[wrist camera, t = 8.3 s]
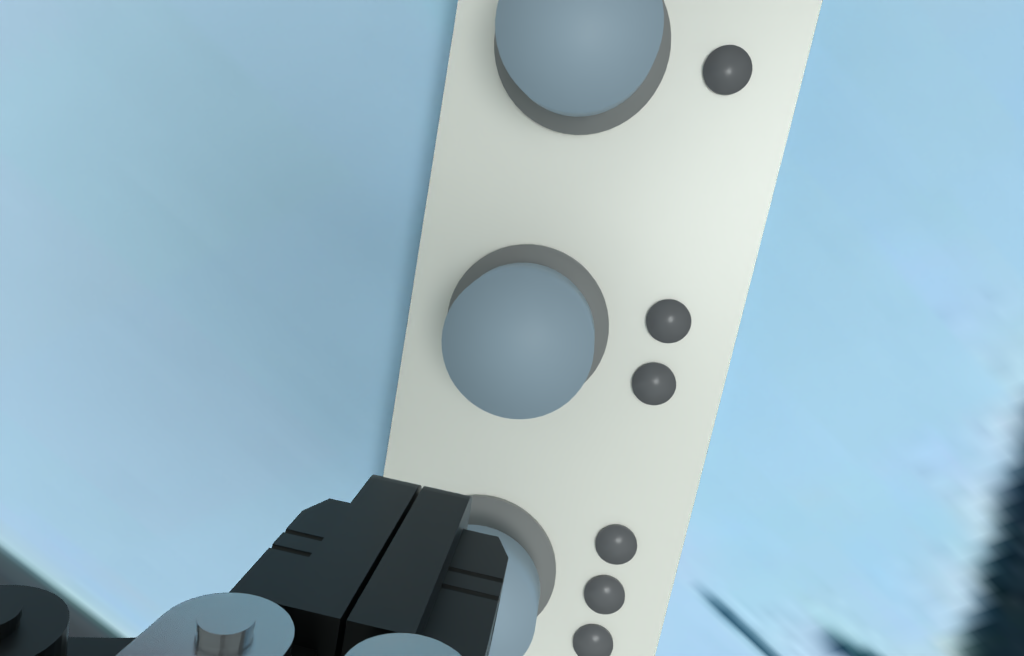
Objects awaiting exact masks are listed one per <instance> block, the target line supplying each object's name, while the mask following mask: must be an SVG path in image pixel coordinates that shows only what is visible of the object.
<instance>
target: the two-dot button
mask: <svg viewBox="0 0 1024 656" xmlns="http://www.w3.org/2000/svg"><path fill="white" fill-rule="evenodd" d="M594 342H595V328H594V320H593V316H592V313H591V310H590V307H589V305H588V303H587V301H586V299H585V297H584V296H583V294H582V293H581V292H580V290H579V289H578V288H577V287H576V286H575V285H574V284H573V283H572V282H571V281H570V280H569V279H568V278H567V277H565V276H564V275H563V274H561V273H559V272H557V271H556V270H554V269H551V268H549V267H546V266H543V265H539V264H534V263H511V264H506V265H502V266H499V267H497V268H494V269H492V270H490V271H488V272H486V273H485V274H483V275H482V276H480V277H479V278H478V279H477V280H475V281H474V282H473V283H472V284H470V285H469V286H468V287H467V288H465V289H464V291H463V292H462V293H461V294H460V295H459V296H458V297H457V298H456V300H455V301H454V302H453V304H452V306H451V308H450V309H449V311H448V314H447V316H446V319H445V322H444V326H443V330H442V354H443V360H444V363H445V366H446V369H447V372H448V374H449V376H450V378H451V380H452V381H453V383H454V385H455V386H456V387H457V389H458V390H459V391H460V392H461V394H462V395H463V396H464V397H465V398H467V399H468V400H469V401H470V402H471V403H473V404H474V405H475V406H477V407H478V408H480V409H482V410H484V411H486V412H488V413H490V414H493V415H496V416H499V417H503V418H509V419H531V418H536V417H540V416H544V415H546V414H549V413H551V412H553V411H555V410H557V409H559V408H561V407H562V406H563V405H565V404H566V403H568V402H569V401H570V400H571V399H572V398H573V397H574V396H575V395H576V394H577V392H578V391H579V390H580V389H581V387H582V386H583V384H584V382H585V381H586V379H587V376H588V374H589V372H590V369H591V365H592V362H593V355H594Z"/></svg>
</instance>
